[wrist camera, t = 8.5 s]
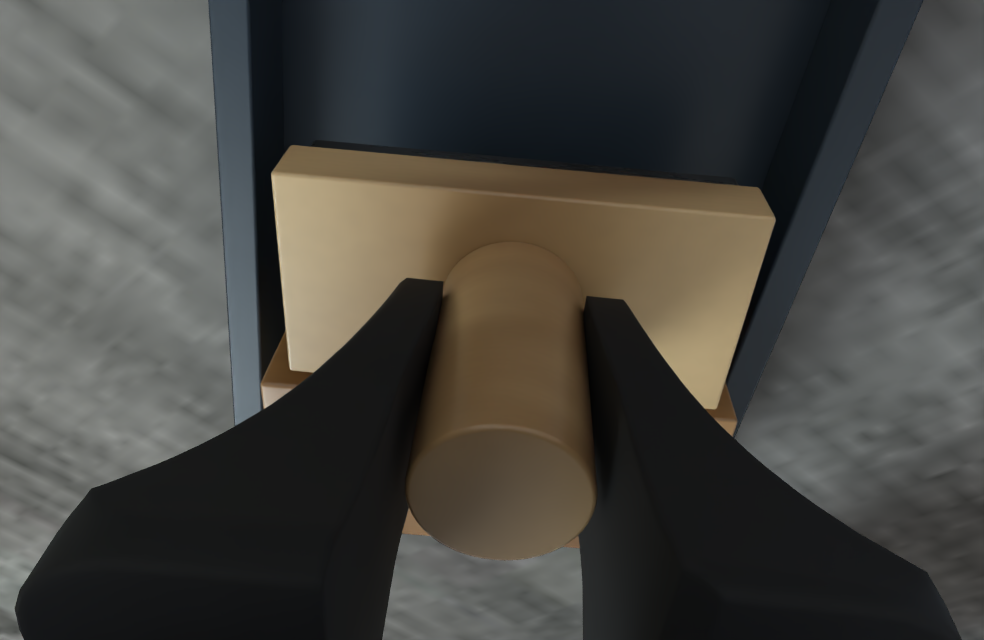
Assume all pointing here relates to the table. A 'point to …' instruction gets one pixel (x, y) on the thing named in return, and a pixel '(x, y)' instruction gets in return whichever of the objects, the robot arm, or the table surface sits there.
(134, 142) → the table surface
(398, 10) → the tray
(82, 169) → the table surface
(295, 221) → the wooden rubber stamp
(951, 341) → the table surface
